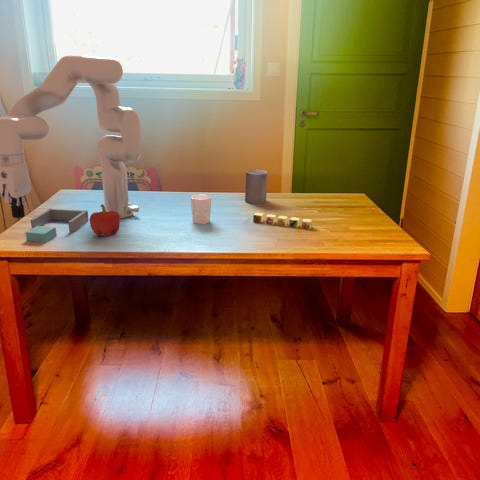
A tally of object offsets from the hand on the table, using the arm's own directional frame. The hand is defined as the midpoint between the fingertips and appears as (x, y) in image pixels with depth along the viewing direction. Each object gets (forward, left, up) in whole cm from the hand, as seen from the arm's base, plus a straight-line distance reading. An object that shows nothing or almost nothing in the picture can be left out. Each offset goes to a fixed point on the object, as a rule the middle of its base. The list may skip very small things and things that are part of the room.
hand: (18, 216), depth 150 cm
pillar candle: (-70, -73, -12) cm, 102 cm away
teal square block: (0, -12, -12) cm, 16 cm away
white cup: (-51, -40, -12) cm, 66 cm away
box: (0, -26, -11) cm, 28 cm away
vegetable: (-20, -20, -12) cm, 30 cm away
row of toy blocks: (-83, -40, -12) cm, 93 cm away
